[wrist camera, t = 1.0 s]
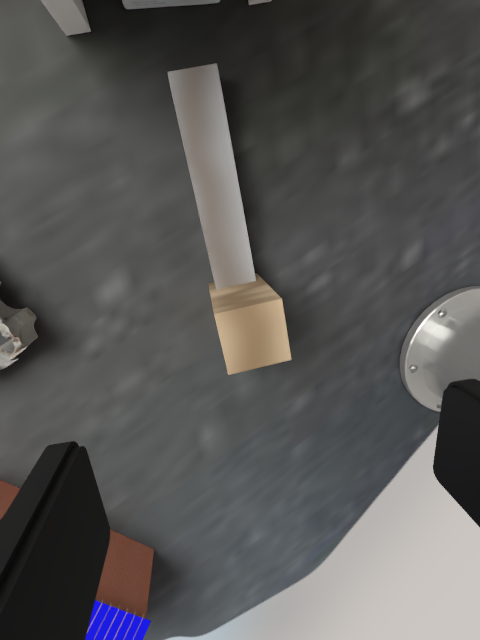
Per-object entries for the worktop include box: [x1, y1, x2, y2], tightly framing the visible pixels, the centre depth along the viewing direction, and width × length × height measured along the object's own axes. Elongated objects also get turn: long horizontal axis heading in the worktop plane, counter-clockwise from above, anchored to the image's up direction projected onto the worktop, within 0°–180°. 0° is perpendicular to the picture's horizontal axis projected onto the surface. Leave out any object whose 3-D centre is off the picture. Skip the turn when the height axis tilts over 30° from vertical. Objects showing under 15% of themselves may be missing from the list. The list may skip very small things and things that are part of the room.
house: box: [0, 480, 154, 640], centre depth 27 cm, size 12×20×12 cm, turn 49°
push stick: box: [167, 63, 291, 375], centre depth 21 cm, size 4×18×8 cm, turn 11°
